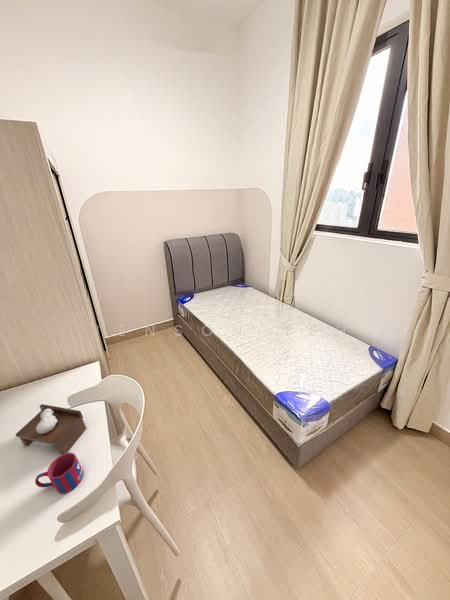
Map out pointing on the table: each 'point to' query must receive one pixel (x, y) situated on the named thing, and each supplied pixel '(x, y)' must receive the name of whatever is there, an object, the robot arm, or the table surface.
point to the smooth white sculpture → (46, 421)
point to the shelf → (55, 429)
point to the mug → (63, 473)
